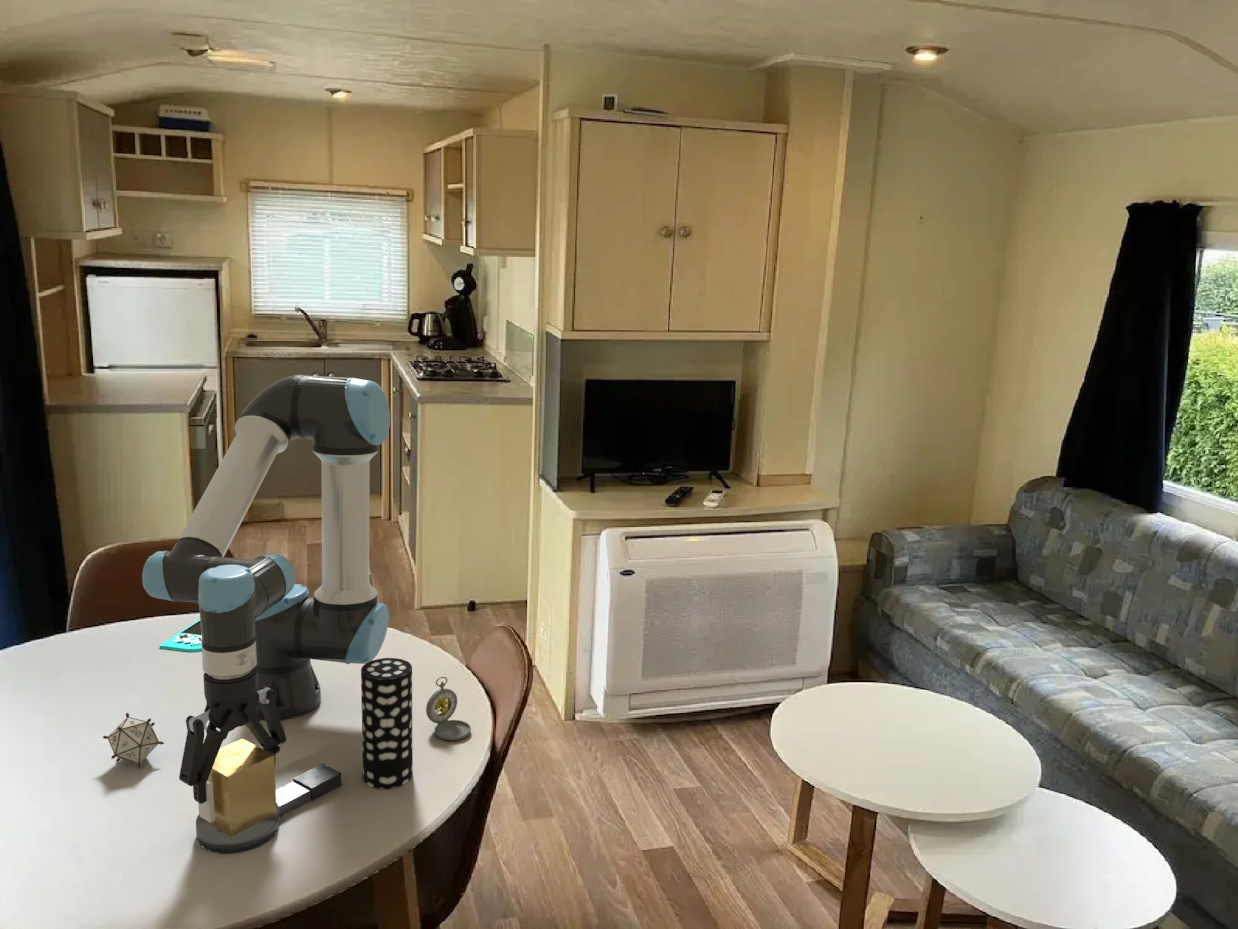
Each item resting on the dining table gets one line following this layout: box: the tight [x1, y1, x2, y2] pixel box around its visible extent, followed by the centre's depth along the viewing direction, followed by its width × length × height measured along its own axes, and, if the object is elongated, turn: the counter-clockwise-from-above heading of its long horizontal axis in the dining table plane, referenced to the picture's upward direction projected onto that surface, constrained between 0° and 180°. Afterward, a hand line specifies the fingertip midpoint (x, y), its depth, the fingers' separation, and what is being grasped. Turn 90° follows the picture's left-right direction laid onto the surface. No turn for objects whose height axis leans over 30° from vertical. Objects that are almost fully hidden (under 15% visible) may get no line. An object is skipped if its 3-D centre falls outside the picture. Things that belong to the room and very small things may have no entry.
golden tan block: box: [198, 738, 277, 837], centre depth 152 cm, size 8×8×10 cm
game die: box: [102, 712, 165, 769], centre depth 171 cm, size 9×8×10 cm
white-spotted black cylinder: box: [360, 657, 414, 790], centre depth 168 cm, size 8×8×20 cm
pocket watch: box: [425, 676, 472, 741], centre depth 186 cm, size 8×8×10 cm
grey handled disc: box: [195, 763, 343, 855], centre depth 158 cm, size 24×12×8 cm, turn 145°
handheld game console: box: [159, 619, 202, 653], centre depth 223 cm, size 10×16×1 cm, turn 170°
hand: (237, 803), depth 153 cm, fingers open, 9 cm apart
